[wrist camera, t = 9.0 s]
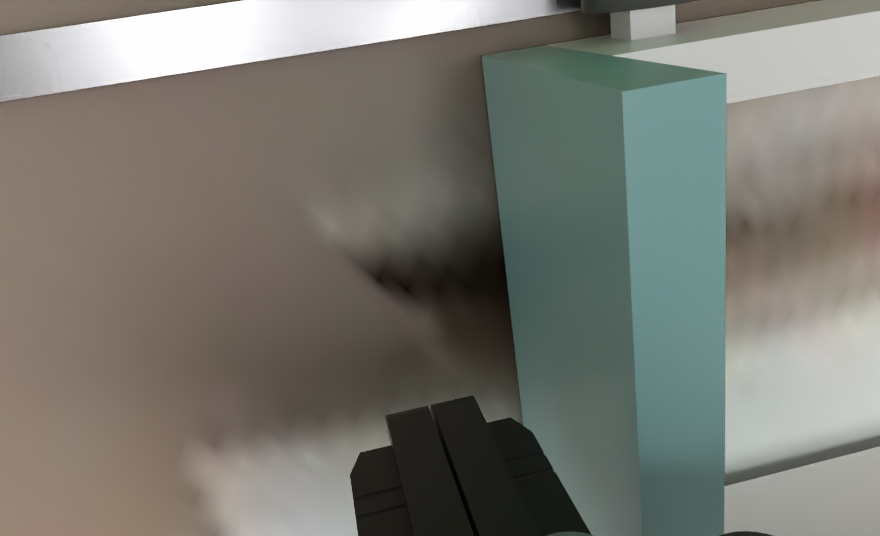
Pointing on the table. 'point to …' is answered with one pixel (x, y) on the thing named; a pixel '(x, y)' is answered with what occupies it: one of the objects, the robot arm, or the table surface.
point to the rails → (231, 37)
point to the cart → (653, 259)
